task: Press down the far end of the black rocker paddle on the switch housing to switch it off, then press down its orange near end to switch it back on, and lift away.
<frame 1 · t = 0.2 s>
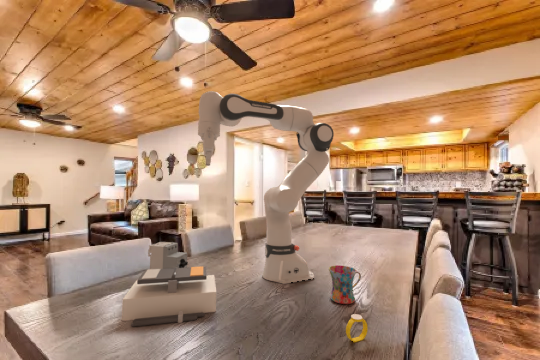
hand: (208, 164, 106), 48 cm above the table, tool pointing down, fingers open, 8 cm apart
switch housing: (173, 304, 83), on the table
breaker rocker: (174, 274, 84), point 10 cm above the table, hinge at 0.0°
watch: (356, 340, 65), on the table
dark grey piece: (169, 321, 73), on the table
mug: (345, 300, 89), on the table
circuit breaker: (169, 283, 103), on the table
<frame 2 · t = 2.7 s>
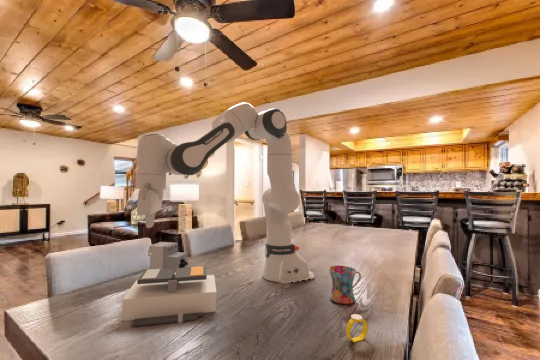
hand: (149, 227, 82), 25 cm above the table, tool pointing down, fingers closed
nothing on the table moved.
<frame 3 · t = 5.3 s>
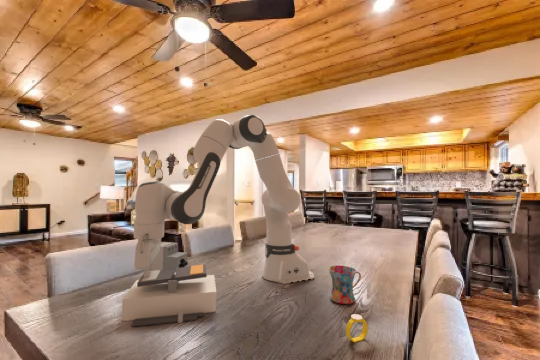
hand: (147, 275, 82), 10 cm above the table, tool pointing down, fingers closed, pressing on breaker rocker
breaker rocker: (174, 274, 84), point 10 cm above the table, hinge at 4.4°, touching gripper
everything else where it was.
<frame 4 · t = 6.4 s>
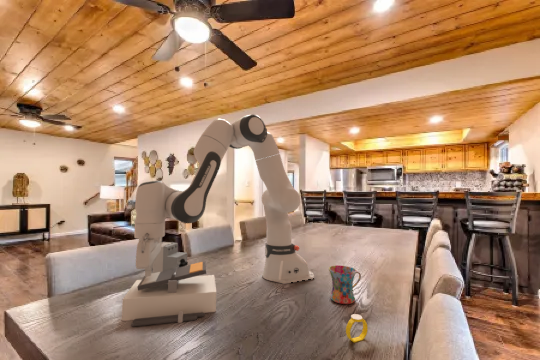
hand: (148, 274, 82), 10 cm above the table, tool pointing down, fingers closed
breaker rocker: (174, 274, 84), point 10 cm above the table, hinge at 10.7°
everything else where it was.
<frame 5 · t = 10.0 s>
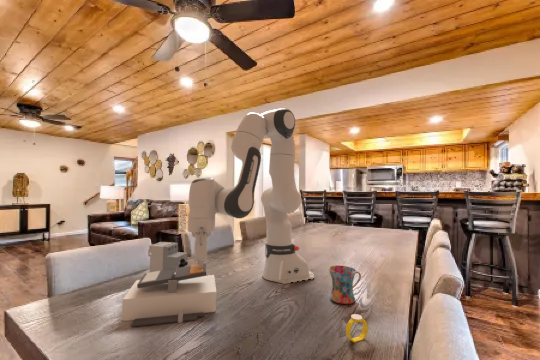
hand: (200, 267, 86), 11 cm above the table, tool pointing down, fingers closed, pressing on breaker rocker
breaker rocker: (174, 274, 84), point 10 cm above the table, hinge at 6.9°, touching gripper
everything else where it was.
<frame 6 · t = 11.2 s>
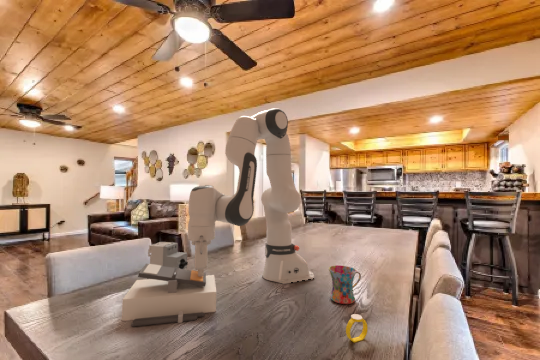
hand: (200, 275, 86), 9 cm above the table, tool pointing down, fingers closed, pressing on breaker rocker
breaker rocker: (174, 274, 84), point 10 cm above the table, hinge at -12.3°, touching gripper
everything else where it was.
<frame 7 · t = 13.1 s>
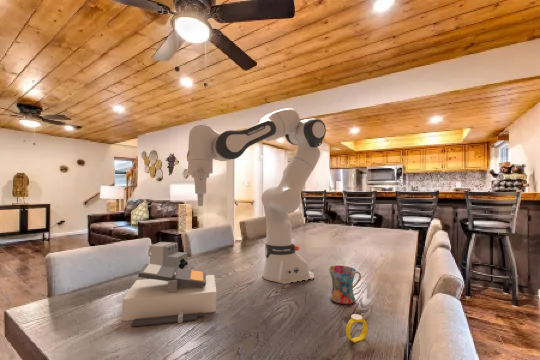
hand: (200, 205, 95), 31 cm above the table, tool pointing down, fingers closed
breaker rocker: (174, 274, 84), point 10 cm above the table, hinge at -12.3°
everything else where it was.
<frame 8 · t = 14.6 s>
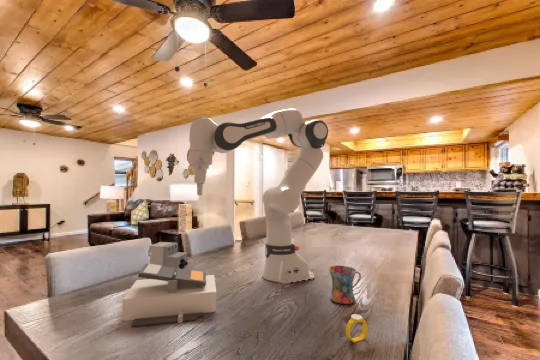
hand: (199, 195, 99), 35 cm above the table, tool pointing down, fingers closed
nothing on the table moved.
at the end: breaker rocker at -12° (first picture: +0°); circuit breaker moved 0.2 cm from its start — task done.
